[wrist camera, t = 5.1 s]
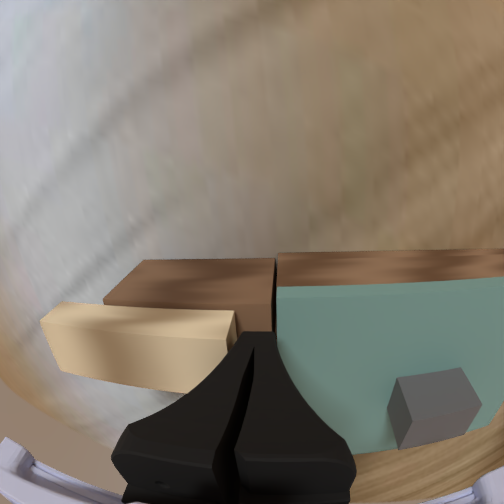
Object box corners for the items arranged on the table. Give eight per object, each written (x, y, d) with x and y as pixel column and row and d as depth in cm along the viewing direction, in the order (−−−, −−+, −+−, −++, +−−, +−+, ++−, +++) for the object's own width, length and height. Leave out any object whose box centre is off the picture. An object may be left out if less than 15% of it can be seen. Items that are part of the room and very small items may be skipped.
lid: (544, 272, 11) (584, 304, 8) (484, 416, 15) (501, 452, 12) (277, 286, 13) (273, 343, 9) (278, 446, 17) (274, 496, 13)
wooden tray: (509, 248, 15) (554, 278, 10) (466, 383, 19) (488, 424, 14) (142, 255, 18) (101, 293, 13) (177, 397, 22) (158, 445, 17)
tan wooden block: (234, 310, 12) (225, 339, 10) (239, 366, 13) (233, 397, 11) (61, 301, 13) (39, 321, 11) (79, 348, 14) (60, 370, 12)
